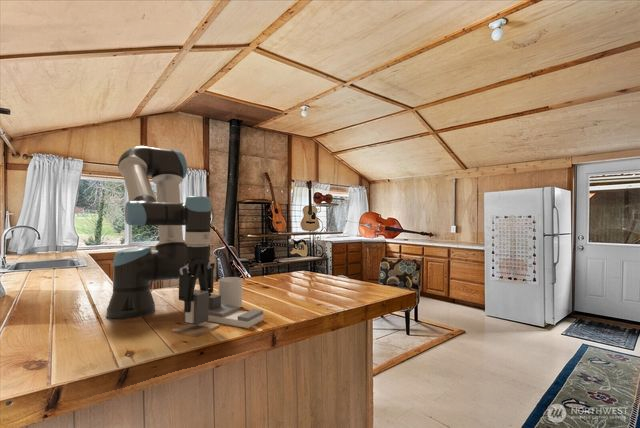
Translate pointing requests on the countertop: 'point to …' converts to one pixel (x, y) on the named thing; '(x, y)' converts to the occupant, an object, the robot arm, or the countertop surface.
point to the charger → (200, 307)
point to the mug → (230, 291)
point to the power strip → (231, 314)
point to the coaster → (195, 329)
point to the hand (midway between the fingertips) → (196, 319)
